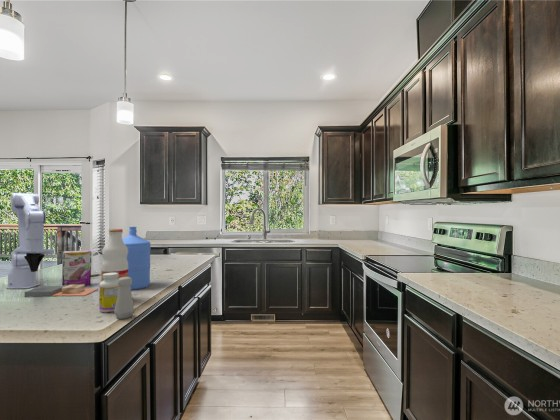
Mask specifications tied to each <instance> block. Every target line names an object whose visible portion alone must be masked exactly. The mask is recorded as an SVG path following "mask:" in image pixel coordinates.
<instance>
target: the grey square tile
mask: <svg viewBox="0 0 560 420" xmlns="http://www.w3.org/2000/svg"><path fill="white" fill-rule="evenodd" d="M65 286H67V285H62V284H61V285H41V286H38V287H35V288H32V289H29V290H26V291H24V297H25V298H26V297H27V298H28V297H29V298H32V297H34V298H35V297H36V298H39V297H42V298H43V297H45V298H46V297H53V296H52V295H54V294H56V293H59V292H61V291H62V288H63V287H65Z"/></svg>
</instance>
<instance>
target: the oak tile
mask: <svg viewBox="0 0 560 420" xmlns="http://www.w3.org/2000/svg"><path fill="white" fill-rule="evenodd" d="M85 289H86V286H85V284H82V285H68V286H65V287H63V288H62V294H77V293H79V292H82V291H84V290H85Z"/></svg>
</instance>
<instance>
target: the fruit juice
mask: <svg viewBox="0 0 560 420" xmlns="http://www.w3.org/2000/svg"><path fill="white" fill-rule="evenodd" d="M123 230H124V229H123V228H109V229H108V234H109V237H108V240H107V243H106V244H105V245H104V246H103V248H102V251H101V255H102V258H103V261H102V262H101V267H100V271H101V272H100V273H101V275H100V276H101V277H100V280H101V281H100V283H101V282H102V281H104V279H103V274H105V273H118V277H117V280H118V279H119V278H122V277H128V261H127V255H128V248H127V246H126V245H125V244H124V242H123V240H122V239H123V236H122V234H123Z"/></svg>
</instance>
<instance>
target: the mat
mask: <svg viewBox="0 0 560 420" xmlns="http://www.w3.org/2000/svg"><path fill="white" fill-rule="evenodd" d="M98 290H99V288H85V290H84V291H82V292H79V293H77V294H62V291H61V292H59V293H56V294H54V295H52V296H51V297H86V296H87V295H90V294H92V293H94V292H96V291H98Z"/></svg>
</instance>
